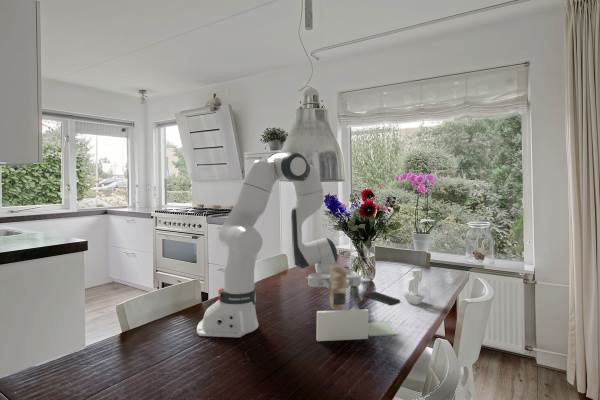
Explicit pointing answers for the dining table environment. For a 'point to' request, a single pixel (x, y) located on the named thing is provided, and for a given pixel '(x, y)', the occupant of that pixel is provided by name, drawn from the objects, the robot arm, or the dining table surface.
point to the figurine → (414, 288)
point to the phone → (382, 298)
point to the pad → (380, 329)
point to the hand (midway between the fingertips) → (338, 285)
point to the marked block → (337, 287)
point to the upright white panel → (342, 325)
